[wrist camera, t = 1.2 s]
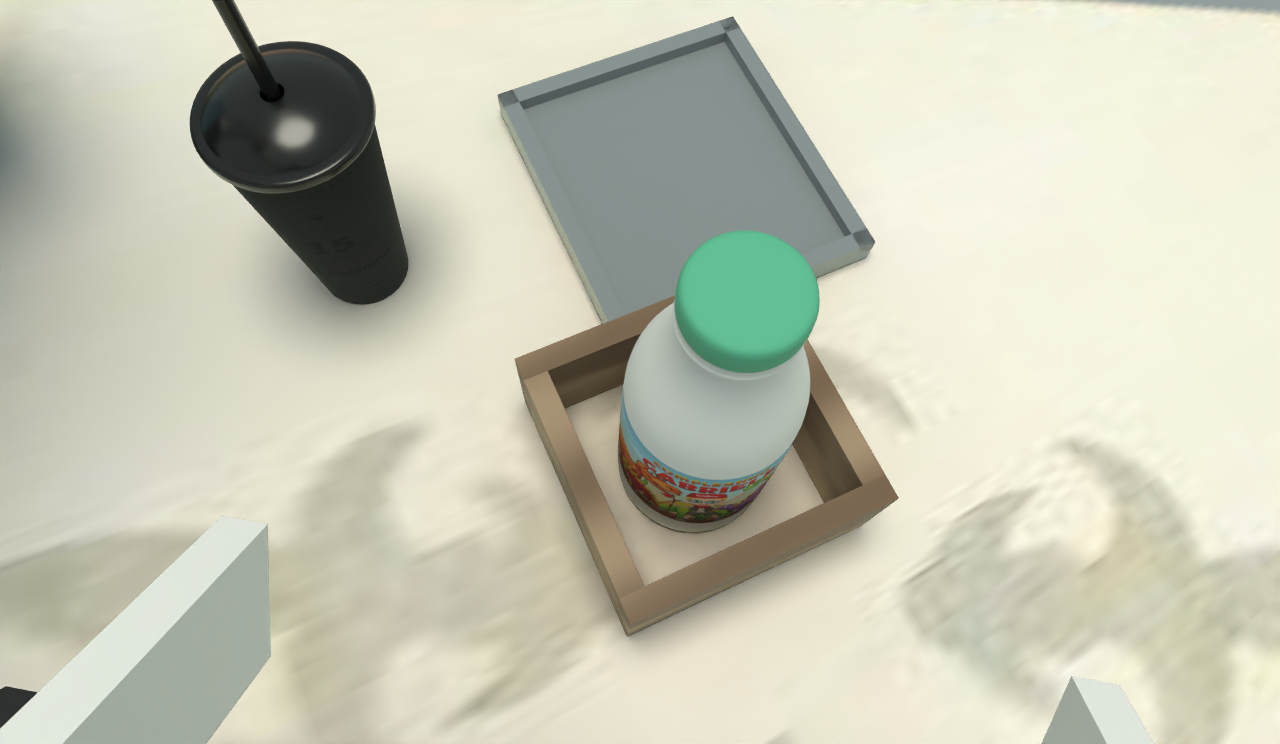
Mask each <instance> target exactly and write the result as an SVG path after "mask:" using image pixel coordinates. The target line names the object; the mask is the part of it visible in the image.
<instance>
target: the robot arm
mask: <svg viewBox="0 0 1280 744" xmlns="http://www.w3.org/2000/svg"><path fill="white" fill-rule="evenodd" d="M270 656H271V650H270V606H269V561H268V524H264V523H258V522H253V521H248V520H242V519H237V518H232V517H226V516H222V517H221V518H220V519H219V520H217V521H216V522H215V523H214V524H213V525H212V526H211V527H210V528H209V529H208V530H207V531H206V532H205V533H204V534H203V535H202V536H201V537H200V538H199V539H198V540H197V541H196V542H195V543H193V544H192V545H191V546H190V547H189V548H188V549H187V550H186V551H185V552H184V553H183V554H182V555H181V556H180V557H179V558H178V559H177V560H176V561H175V562H174V563H173V564H172V565H171V566H169V567H168V568H167V569H166V570H165V571H164V572H163V573H162V574H161V575H160V576H159V577H158V578H157V579H156V580H155V581H154V582H153V583H152V584H151V585H150V586H149V587H148V588H146V589H145V590H144V591H143V592H142V593H141V594H140V595H139V596H138V597H137V598H136V599H135V600H134V601H133V602H132V603H131V604H130V605H129V606H128V607H127V608H126V609H125V610H124V611H122V612H121V613H120V614H119V615H118V616H117V617H116V618H115V619H114V620H113V621H112V622H111V623H110V624H109V625H108V626H107V627H106V628H105V629H104V630H103V631H102V632H101V633H100V634H98V635H97V636H96V637H95V638H94V639H93V640H92V641H91V642H90V643H89V644H88V645H87V646H86V647H85V648H84V649H83V650H82V651H81V652H80V653H79V654H78V655H77V656H76V657H74V658H73V659H72V660H71V661H70V662H69V663H68V664H67V665H66V666H65V667H64V668H63V669H62V670H61V671H60V672H59V673H58V674H57V675H56V676H55V677H54V678H53V679H52V680H50V681H49V682H48V683H47V684H46V685H45V686H44V687H43V688H42V689H41V690H40V691H39V692H38V693H37V692H32V691H27V690H22V689H17V688H12V687H7V686H6V687H4V688H2V689H0V744H206V743H207V742H208V741H209V739H210V738H211V737H212V735H213V734H214V733H215V731H216V730H217V729H218V727H219V726H220V724H221V723H222V722H223V720H224V719H225V718H226V716H227V715H228V714H229V712H230V711H231V709H232V708H233V707H234V705H235V704H236V703H237V701H238V700H239V699H240V697H241V696H242V694H243V693H244V692H245V690H246V689H247V688H248V686H249V685H250V684H251V682H252V681H253V680H254V678H255V677H256V675H257V674H258V673H259V671H260V670H261V669H262V667H263V666H264V665H265V663H266V662H267V660H268V659H269V658H270ZM1042 744H1155V743H1154V742H1153V740H1152V738H1151V737H1150V735H1149V733H1148V732H1147V730H1146V728H1145V726H1144V725H1143V723H1142V721H1141V720H1140V718H1139V716H1138V715H1137V713H1136V711H1135V709H1134V708H1133V706H1132V704H1131V703H1130V701H1129V699H1128V697H1127V696H1126V694H1125V692H1124V691H1123V689H1122V687H1121V686H1120V685H1117V684H1111V683H1106V682H1101V681H1096V680H1090V679H1085V678H1080V677H1074V676H1071V678H1070V681H1069V683H1068V685H1067V687H1066V690H1065V692H1064V694H1063V696H1062V699H1061V701H1060V703H1059V705H1058V708H1057V710H1056V712H1055V715H1054V717H1053V719H1052V721H1051V724H1050V726H1049V728H1048V730H1047V733H1046V735H1045V737H1044V739H1043V742H1042Z"/></svg>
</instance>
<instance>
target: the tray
mask: <svg viewBox="0 0 1280 744" xmlns="http://www.w3.org/2000/svg"><path fill="white" fill-rule="evenodd" d="M498 100H499V106H500V111H501V115H502V117H503V119H504V121H505V123H506V126H507V128H508V130H509V132H510V134H511V136H512V138H513V140H514V142H515V144H516V146H517V148H518V150H519V152H520V154H521V156H522V159H523V161H524V163H525V165H526V167H527V169H528V171H529V173H530V175H531V177H532V179H533V181H534V183H535V185H536V187H537V190H538V192H539V194H540V196H541V198H542V200H543V202H544V204H545V206H546V208H547V210H548V212H549V214H550V216H551V218H552V220H553V223H554V225H555V227H556V229H557V231H558V233H559V235H560V237H561V239H562V241H563V243H564V245H565V247H566V249H567V251H568V254H569V256H570V258H571V260H572V262H573V264H574V266H575V268H576V270H577V272H578V274H579V276H580V278H581V280H582V282H583V284H584V287H585V289H586V291H587V293H588V295H589V297H590V299H591V301H592V303H593V305H594V307H595V309H596V311H597V313H598V315H599V318H600V320H601V322H602V324H604V323H606V322H609V321H611V320H614V319H617V318H619V317H622V316H624V315H627V314H629V313H632V312H634V311H637V310H639V309H642V308H644V307H647V306H649V305H652V304H654V303H657V302H659V301H662V300H664V299H667V298H670V297H672V296H675V291H676V286H677V282H678V279H679V275H680V272H681V270H682V268H683V266H684V264H685V262H686V261H687V259H688V258H689V257H690V255H691V254H692V253H693V252H694V251H695V250H696V249H697V248H698V247H699V246H700V245H702V244H703V243H704V242H706V241H707V240H709V239H711V238H713V237H715V236H718V235H720V234H723V233H727V232H732V231H742V230H747V231H758V232H762V233H766V234H770V235H772V236H775V237H777V238H779V239H781V240H783V241H785V242H787V243H788V244H790V245H791V246H792V247H794V248H795V249H796V250H797V251H798V252H799V253H800V254H801V255H802V256H803V257H804V258H805V259H806V261H807V262H808V264H809V265H810V267H811V268H812V270H813V272H814V275H815V277H816V278H817V277H820V276H822V275H825V274H827V273H829V272H832V271H834V270H837V269H839V268H842V267H844V266H847V265H849V264H852V263H854V262H857V261H859V260H861V259H864V258H866V257H867V256H868V254H869V252H870V250H871V249H872V247H873V245H874V243H875V241H874V239H873V237H872V236H871V234H870V233H869V231H868V229H867V228H866V226H865V225H864V223H863V222H862V220H861V218H860V217H859V215H858V214H857V212H856V210H855V209H854V207H853V206H852V204H851V203H850V201H849V199H848V198H847V196H846V195H845V193H844V191H843V190H842V188H841V187H840V185H839V184H838V182H837V180H836V179H835V177H834V176H833V174H832V173H831V171H830V169H829V168H828V166H827V165H826V163H825V161H824V160H823V158H822V157H821V155H820V154H819V152H818V150H817V149H816V147H815V146H814V144H813V142H812V141H811V139H810V138H809V136H808V135H807V133H806V131H805V130H804V128H803V127H802V125H801V123H800V122H799V120H798V119H797V117H796V116H795V114H794V112H793V111H792V109H791V108H790V106H789V104H788V103H787V101H786V100H785V98H784V97H783V95H782V93H781V92H780V90H779V89H778V87H777V85H776V84H775V82H774V81H773V79H772V78H771V76H770V74H769V73H768V71H767V70H766V68H765V66H764V65H763V63H762V62H761V60H760V59H759V57H758V55H757V54H756V52H755V51H754V49H753V47H752V46H751V44H750V43H749V41H748V40H747V38H746V36H745V35H744V33H743V32H742V30H741V28H740V27H739V25H738V24H737V22H736V21H735V19H734V17H730V18H727V19H724V20H721V21H718V22H715V23H712V24H709V25H706V26H703V27H700V28H697V29H694V30H690V31H687V32H684V33H681V34H678V35H675V36H672V37H669V38H666V39H663V40H660V41H657V42H654V43H651V44H648V45H645V46H642V47H639V48H636V49H633V50H630V51H627V52H624V53H621V54H618V55H615V56H612V57H609V58H606V59H603V60H600V61H597V62H594V63H591V64H588V65H585V66H582V67H579V68H576V69H573V70H570V71H567V72H564V73H561V74H558V75H555V76H552V77H549V78H546V79H543V80H540V81H537V82H534V83H531V84H528V85H525V86H522V87H519V88H516V89H513V90H510V91H507V92H504V93H501V94H498Z"/></svg>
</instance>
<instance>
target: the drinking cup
mask: <svg viewBox="0 0 1280 744" xmlns="http://www.w3.org/2000/svg"><path fill="white" fill-rule="evenodd" d="M212 1H213V3H214V5H215V7H216V9H217V10H218V12H219V14H220V16H221V18H222V19H223V21H224V23H225V25H226V27H227V29H228V30H229V32H230V34H231V36H232V38H233V40H234V41H235V43H236V45H237V47H238V49H239V50H240V52H241V53H240V54H238V55H236V56H235V57H233V58H231V59H229V60H228V61H227V62H225V63H224V64H222V65H221V66H220V67H219V68H217V69H216V70H215V71H214V72H213V73H212V74H211V75H210V76H209V77H208V78H207V80H206V81H205V82H204V84H203V85H202V86H201V88H200V90H199V91H198V93H197V95H196V97H195V99H194V102H193V105H192V109H191V114H190V133H191V138H192V141H193V144H194V147H195V149H196V151H197V153H198V154H199V156H200V157H201V159H202V160H203V162H204V163H205V164H206V165H207V166H208V167H209V169H210V170H212V171H213V172H214V173H215V174H216V175H217V176H219V177H220V178H221V179H223V180H225V181H226V182H228V183H230V184H232V185H233V186H234V187H235V188H236V189H237V190H238V191H239V192H240V193H241V194H242V195H243V197H244V198H245V199H246V200H247V201H248V202H249V203H250V204H251V205H252V206H253V207H254V209H255V210H256V211H257V212H258V213H259V214H260V215H261V216H262V217H263V218H264V219H265V221H266V222H267V223H268V224H269V225H270V226H271V227H272V228H273V229H274V230H275V231H276V232H277V234H278V235H279V236H280V237H281V238H282V239H283V240H284V241H285V242H286V243H287V244H288V246H289V247H290V248H291V249H292V250H293V251H294V252H295V253H296V254H297V255H298V256H299V258H300V259H301V260H302V261H303V262H304V263H305V264H306V265H307V266H308V267H309V268H310V270H311V271H312V272H313V273H314V274H315V275H316V276H317V277H318V278H319V279H320V280H321V282H322V283H323V284H324V285H325V286H326V287H327V288H328V289H329V290H330V291H331V292H332V293H333V294H334V295H335V296H336V297H338V298H339V299H341V300H343V301H346V302H349V303H354V304H369V303H374V302H377V301H380V300H382V299H384V298H386V297H388V296H389V295H391V294H392V293H393V292H395V291H396V290H397V289H398V288H399V286H400V285H401V284H402V282H403V280H404V279H405V276H406V274H407V270H408V257H407V253H406V249H405V245H404V240H403V236H402V232H401V228H400V224H399V220H398V216H397V212H396V208H395V204H394V200H393V196H392V192H391V188H390V184H389V180H388V176H387V172H386V168H385V164H384V160H383V156H382V152H381V148H380V143H379V139H378V135H377V131H376V127H375V117H376V105H375V99H374V96H373V92H372V89H371V87H370V84H369V82H368V80H367V79H366V77H365V75H364V74H363V73H362V71H361V70H360V69H359V68H358V67H357V66H356V65H355V64H354V63H353V62H352V61H351V60H350V59H348V58H347V57H345V56H344V55H342V54H341V53H339V52H337V51H335V50H333V49H330V48H328V47H325V46H322V45H318V44H314V43H308V42H298V41H287V42H276V43H270V44H266V45H261V46H257V44H256V42H255V40H254V38H253V36H252V34H251V33H250V31H249V29H248V27H247V25H246V23H245V21H244V19H243V17H242V15H241V13H240V11H239V9H238V7H237V6H236V4H235V2H234V0H212Z"/></svg>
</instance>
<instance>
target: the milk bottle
mask: <svg viewBox="0 0 1280 744" xmlns="http://www.w3.org/2000/svg"><path fill="white" fill-rule="evenodd" d="M818 311H819V289H818V284H817V280H816V277H815V275H814V272H813V270H812V268H811V267H810V265H809V264H808V262H807V261H806V259H805V258H804V257H803V256H802V255H801V254H800V253H799V252H798V251H797V250H796V249H795V248H794V247H792V246H791V245H790V244H788V243H787V242H785V241H783V240H781V239H779V238H777V237H775V236H772V235H770V234H766V233H762V232H758V231H747V230H742V231H732V232H727V233H723V234H720V235H718V236H715V237H713V238H711V239H709V240H707V241H706V242H704V243H703V244H702V245H700V246H699V247H698V248H697V249H696V250H695V251H694V252H693V253H692V254H691V255H690V257H689V258H688V259H687V261H686V262H685V264H684V266H683V268H682V270H681V272H680V275H679V279H678V282H677V286H676V291H675V300H674V303H672V304H671V305H669V306H668V307H666V308H665V309H664V310H663V311H661V312H660V313H659V314H658V315H657V316H655V318H654V319H653V320H652V321H651V322H650V323H649V324H648V326H647V327H646V328H645V329H644V331H643V332H642V333H641V335H640V337H639V338H638V340H637V342H636V344H635V346H634V348H633V350H632V353H631V355H630V358H629V361H628V364H627V368H626V373H625V378H624V384H623V391H622V401H621V412H620V426H619V444H618V462H619V471H620V476H621V479H622V482H623V485H624V488H625V490H626V492H627V494H628V495H629V497H630V498H631V500H632V501H633V503H634V504H635V505H636V506H637V507H638V508H639V509H640V510H641V511H642V512H643V513H644V514H645V515H646V516H648V517H649V518H650V519H652V520H653V521H655V522H657V523H659V524H661V525H663V526H665V527H668V528H671V529H674V530H679V531H686V532H702V531H708V530H712V529H716V528H719V527H721V526H724V525H726V524H728V523H730V522H731V521H733V520H734V519H736V518H737V517H738V516H739V515H741V514H742V513H743V512H744V511H745V510H746V509H747V508H748V507H749V506H750V504H751V503H752V502H753V501H754V499H755V498H756V497H757V495H758V494H759V493H760V491H761V490H762V488H763V487H764V485H765V484H766V483H767V481H768V480H769V478H770V477H771V475H772V474H773V473H774V471H775V469H776V468H777V466H778V465H779V463H780V462H781V460H782V459H783V457H784V456H785V454H786V453H787V451H788V450H789V448H790V447H791V445H792V443H793V441H794V439H795V437H796V436H797V434H798V432H799V430H800V428H801V426H802V423H803V420H804V417H805V414H806V410H807V406H808V402H809V396H810V371H809V365H808V360H807V356H806V352H805V349H804V347H803V346H804V343H805V342H806V340H807V339H808V337H809V335H810V333H811V331H812V329H813V327H814V324H815V322H816V319H817V316H818Z"/></svg>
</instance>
